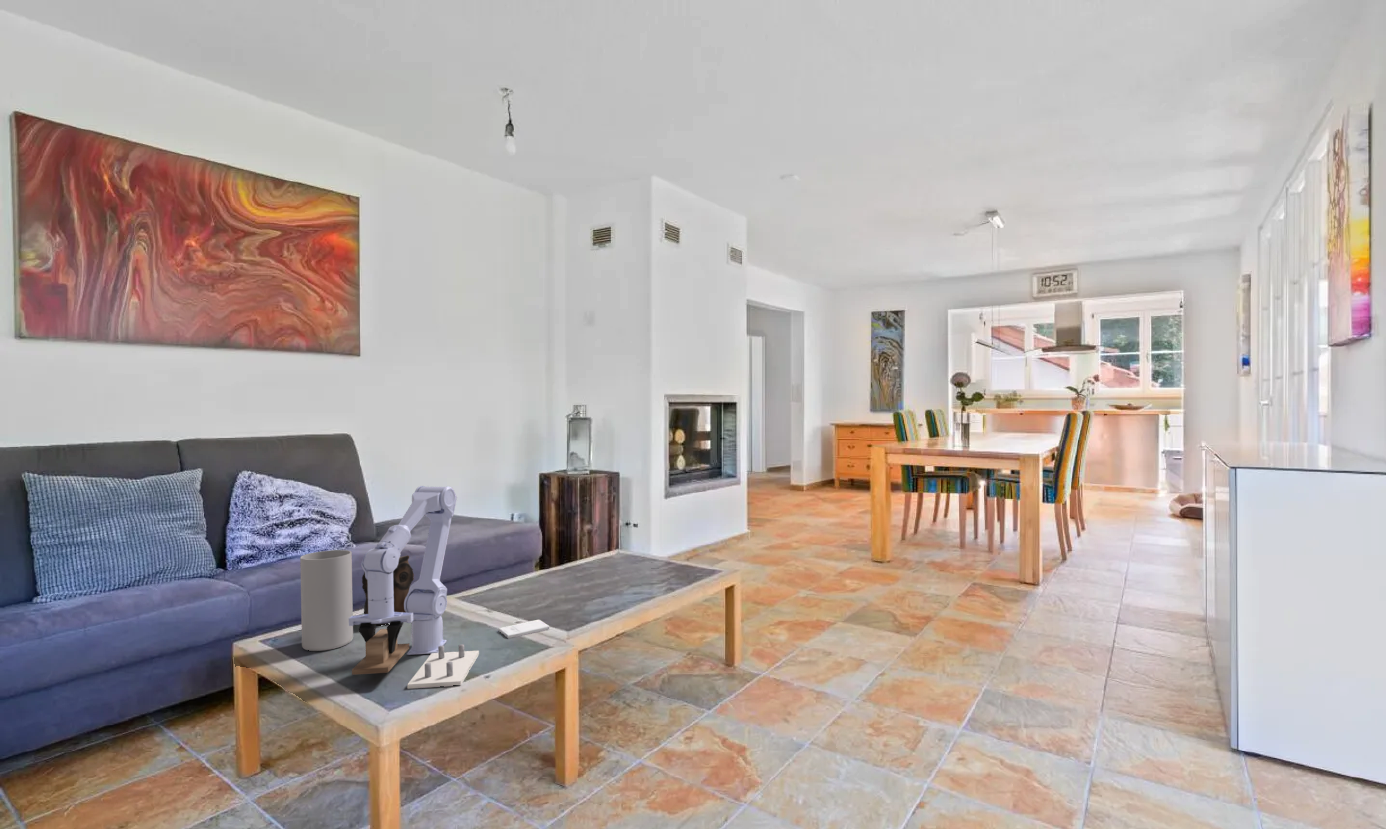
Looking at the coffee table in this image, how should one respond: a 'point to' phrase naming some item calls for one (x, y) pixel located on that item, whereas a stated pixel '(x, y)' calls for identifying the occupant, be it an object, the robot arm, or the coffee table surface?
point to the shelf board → (383, 665)
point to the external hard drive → (523, 628)
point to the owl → (395, 585)
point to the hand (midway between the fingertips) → (382, 652)
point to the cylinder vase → (326, 599)
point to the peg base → (444, 668)
